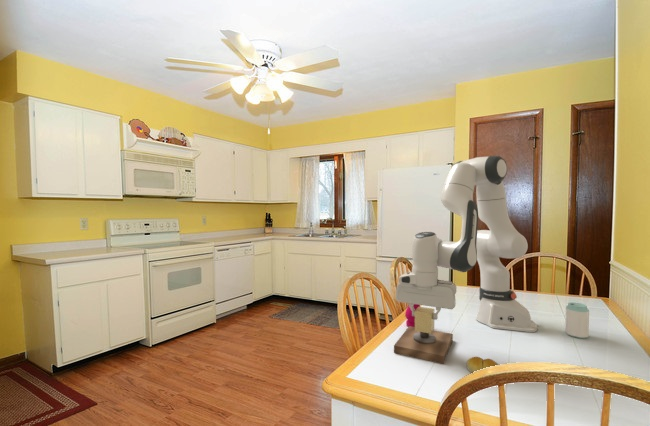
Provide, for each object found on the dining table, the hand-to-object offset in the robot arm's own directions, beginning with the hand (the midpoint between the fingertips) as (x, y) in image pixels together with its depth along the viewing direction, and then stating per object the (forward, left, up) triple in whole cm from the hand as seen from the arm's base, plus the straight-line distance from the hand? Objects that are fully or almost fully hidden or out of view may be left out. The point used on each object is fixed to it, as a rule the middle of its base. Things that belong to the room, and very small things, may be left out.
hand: (424, 317), depth 114 cm
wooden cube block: (0, 0, -4) cm, 4 cm away
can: (-49, -38, -10) cm, 63 cm away
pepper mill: (+8, -18, -10) cm, 22 cm away
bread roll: (-19, +9, -11) cm, 24 cm away
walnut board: (0, 0, -10) cm, 10 cm away
